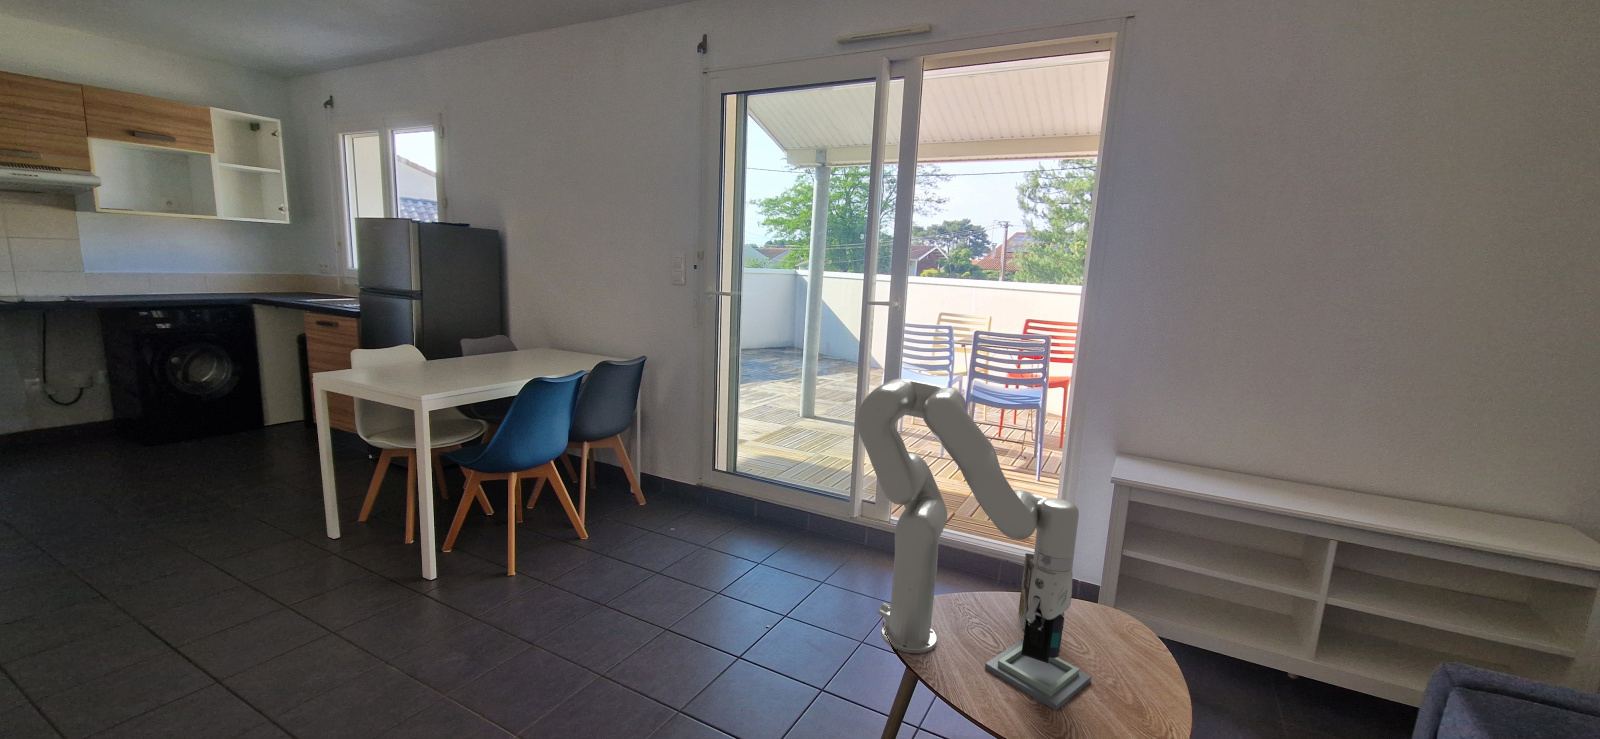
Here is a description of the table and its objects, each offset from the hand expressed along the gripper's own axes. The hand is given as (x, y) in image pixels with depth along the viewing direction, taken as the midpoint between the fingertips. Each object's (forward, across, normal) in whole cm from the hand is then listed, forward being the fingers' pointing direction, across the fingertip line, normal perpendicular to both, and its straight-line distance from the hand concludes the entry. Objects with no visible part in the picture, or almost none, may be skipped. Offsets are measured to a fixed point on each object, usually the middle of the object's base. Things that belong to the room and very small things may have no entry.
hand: (1044, 638), depth 130 cm
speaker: (+3, -1, 0) cm, 3 cm away
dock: (+9, 0, 0) cm, 9 cm away
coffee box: (+9, +18, +12) cm, 23 cm away
